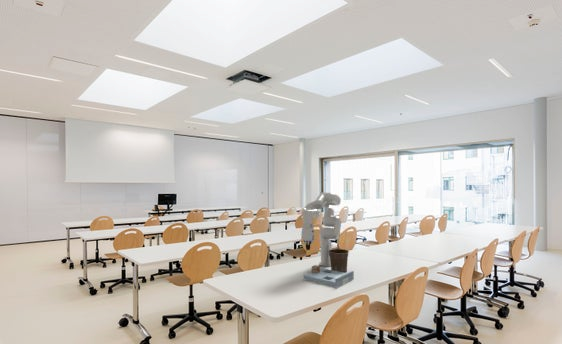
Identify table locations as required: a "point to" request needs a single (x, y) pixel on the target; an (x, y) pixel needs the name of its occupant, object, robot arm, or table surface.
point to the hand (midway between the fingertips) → (308, 249)
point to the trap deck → (329, 277)
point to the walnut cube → (315, 269)
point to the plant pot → (338, 259)
